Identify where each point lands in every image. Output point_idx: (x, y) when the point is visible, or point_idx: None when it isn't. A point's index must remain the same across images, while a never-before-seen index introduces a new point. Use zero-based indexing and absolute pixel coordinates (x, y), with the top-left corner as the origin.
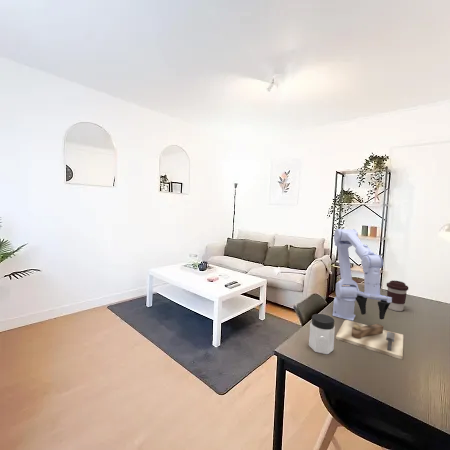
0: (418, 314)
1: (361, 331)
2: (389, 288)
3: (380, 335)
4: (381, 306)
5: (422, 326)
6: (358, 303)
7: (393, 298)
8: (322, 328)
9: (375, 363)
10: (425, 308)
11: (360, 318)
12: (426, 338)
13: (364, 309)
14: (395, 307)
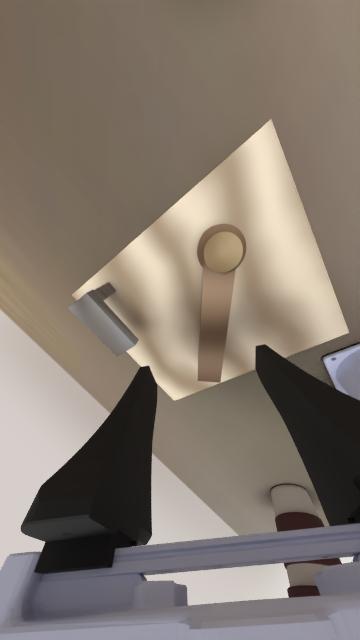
0: (241, 495)
1: (198, 259)
2: None
3: (191, 345)
4: (85, 456)
5: (200, 462)
6: (341, 396)
7: None
8: None
9: (55, 165)
10: (252, 518)
11: None
12: (158, 427)
13: (271, 386)
14: (284, 496)
